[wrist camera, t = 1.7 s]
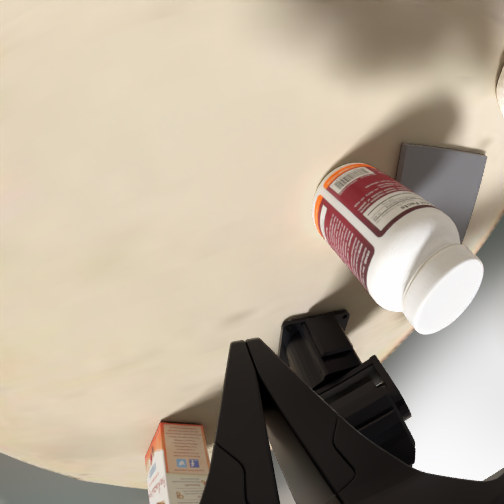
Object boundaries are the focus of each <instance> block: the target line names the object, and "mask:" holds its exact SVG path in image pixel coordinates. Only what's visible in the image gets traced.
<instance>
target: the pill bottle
mask: <svg viewBox="0 0 504 504" xmlns="http://www.w3.org/2000/svg"><path fill="white" fill-rule="evenodd" d="M312 217H313V222H314V224H315V227H316V229H317V230H318V232H319V233H320V234H321V236H322V237H323V238H324V239H325V240H326V242H327V243H328V244H329V245H330V246H331V248H332V249H333V250H334V251H335V252H336V253H337V255H338V256H339V257H340V258H341V259H342V261H343V262H344V263H345V264H346V265H347V267H348V268H349V269H350V270H351V272H352V273H353V274H354V275H355V277H356V278H357V279H358V280H359V282H360V283H361V284H362V285H363V287H364V288H365V289H366V290H367V292H368V293H369V294H370V296H371V297H372V298H373V299H374V300H375V301H376V303H377V304H378V305H380V306H381V307H383V308H384V309H386V310H390V311H394V312H402V311H403V313H404V315H405V316H406V318H407V319H408V320H409V322H410V323H411V324H412V326H413V327H414V328H415V330H416V331H417V332H419V333H421V334H432V333H434V332H437V331H439V330H441V329H443V328H445V327H446V326H448V325H449V324H450V323H452V322H453V321H454V320H455V319H456V318H458V317H459V316H460V314H461V313H462V312H463V311H464V310H465V309H466V308H467V306H468V305H469V304H470V303H471V301H472V300H473V298H474V296H475V295H476V293H477V291H478V289H479V286H480V284H481V281H482V277H483V264H482V262H481V261H480V260H479V258H478V257H477V256H475V255H474V254H473V253H472V252H471V251H470V250H469V249H468V248H467V247H465V246H463V245H461V244H460V238H459V233H458V230H457V227H456V225H455V224H454V222H453V221H452V220H451V218H450V217H449V216H447V215H446V214H445V213H443V212H442V211H441V210H439V209H438V208H437V207H435V206H434V205H432V204H431V203H429V202H428V201H426V200H425V199H423V198H422V197H421V196H419V195H417V194H416V193H414V192H413V191H411V190H410V189H408V188H407V187H405V186H404V185H402V184H400V183H399V182H397V181H396V180H394V179H392V178H391V177H389V176H388V175H386V174H384V173H383V172H381V171H380V170H378V169H376V168H374V167H372V166H370V165H367V164H364V163H349V164H345V165H342V166H340V167H338V168H336V169H334V170H333V171H331V172H330V173H329V174H328V175H327V176H326V177H325V178H324V179H323V181H322V182H321V184H320V185H319V187H318V189H317V191H316V193H315V195H314V199H313V204H312Z"/></svg>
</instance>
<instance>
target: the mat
mask: <svg viewBox="0 0 504 504" xmlns="http://www.w3.org/2000/svg"><path fill="white" fill-rule="evenodd" d="M486 160H487V156H485V155H483V154H478V153H472V152H467V151H460V150H454V149H447V148H440V147H432V146H424V145H416V144H406V143H402V147H401V153H400V159H399V164H398V170H397V175H396V181H397V182H399V183H400V184H402V185H404V186H405V187H407V188H408V189H410V190H411V191H413V192H414V193H416V194H417V195H419V196H421V197H422V198H423V199H425V200H426V201H428V202H429V203H431V204H432V205H434V206H435V207H437V208H438V209H439V210H441V211H442V212H443V213H445V214H446V215H447V216H449V217H450V218H451V220H452V221H453V222H454V224H455V225H456V227H457V230H458V233H459V238H460V244H462V241H463V239H464V236H465V233H466V230H467V227H468V224H469V221H470V218H471V215H472V212H473V208H474V205H475V202H476V198H477V195H478V191H479V188H480V184H481V180H482V176H483V172H484V168H485V164H486Z"/></svg>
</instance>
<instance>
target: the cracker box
mask: <svg viewBox="0 0 504 504" xmlns="http://www.w3.org/2000/svg"><path fill="white" fill-rule="evenodd" d="M145 463H146V472H147V484H148V492H149V501H150V504H199V502H200V499H201V496H202V493H203V490H204V487H205V483H206V480H207V476H208V473H209V468H210V460H209V455H208V450H207V445H206V440H205V434H204V428H203V425H193V424H178V423H165V422H160V424H159V427H158V429H157V431H156V433H155V436H154V438H153V440H152V443H151V445H150V447H149V449H148V452H147V454H146V456H145Z"/></svg>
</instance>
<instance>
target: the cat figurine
mask: <svg viewBox="0 0 504 504" xmlns="http://www.w3.org/2000/svg"><path fill="white" fill-rule="evenodd" d="M496 95H497V100H498V104H499V107H500V110H501V112H502V114H503V116H504V66H503V69H502V72H501V74H500V77H499V80H498V84H497V88H496Z"/></svg>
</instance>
